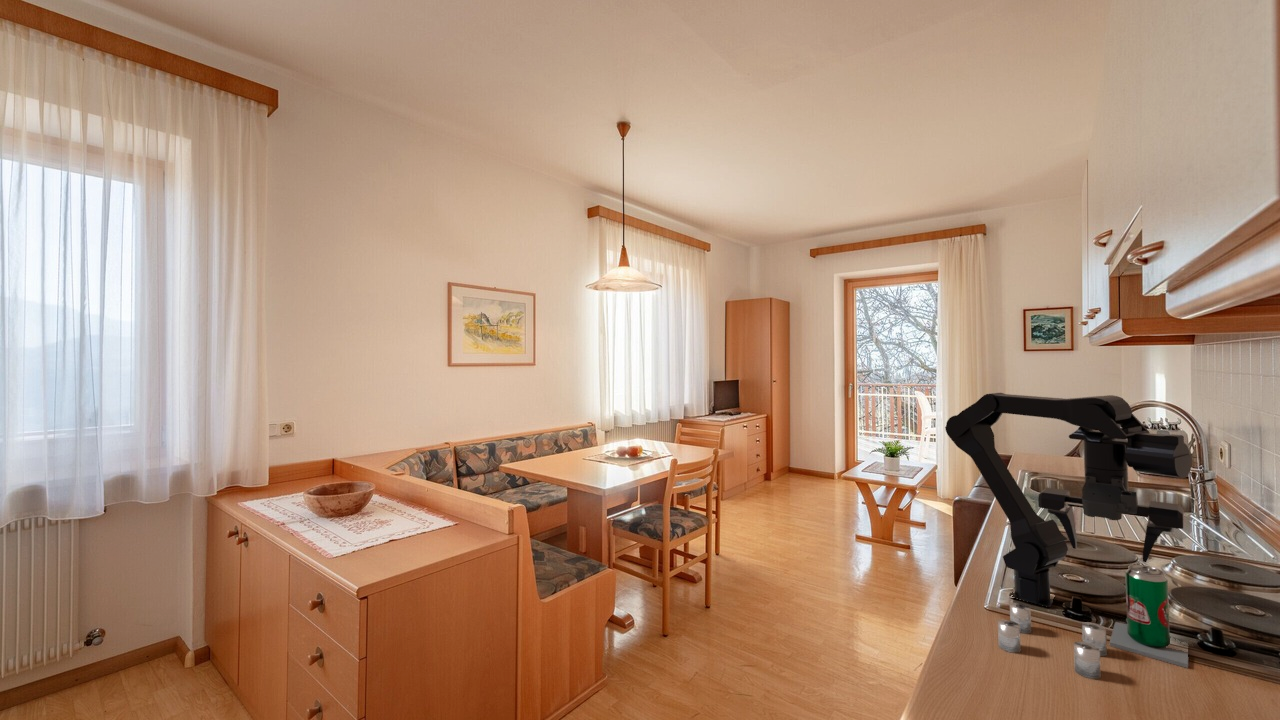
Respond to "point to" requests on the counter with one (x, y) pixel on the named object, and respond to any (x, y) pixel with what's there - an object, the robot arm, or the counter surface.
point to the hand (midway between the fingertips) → (1108, 554)
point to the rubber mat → (1147, 647)
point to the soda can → (1147, 606)
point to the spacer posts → (1083, 651)
